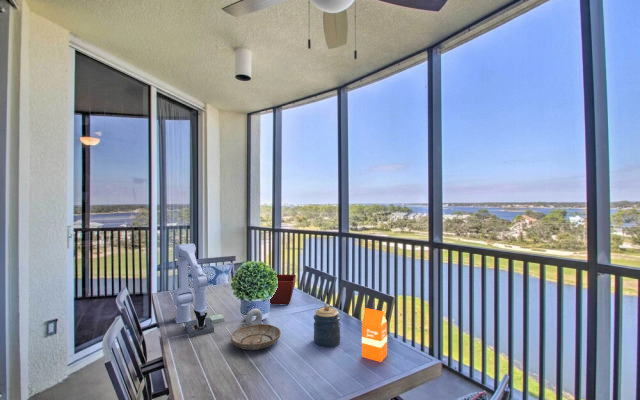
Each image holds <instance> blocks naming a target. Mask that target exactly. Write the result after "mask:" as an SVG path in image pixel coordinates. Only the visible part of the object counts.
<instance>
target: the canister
mask: <svg viewBox="0 0 640 400" xmlns="http://www.w3.org/2000/svg"><path fill="white" fill-rule="evenodd" d="M314 313H315V314H314V315H313V319H314V322H313V342H314V344H315V345H316V346H318V347H321V348H334V347H336V346H338V345H340V343H341V322H340V320H341V316H340V315H339V311H338V310H337V309H336V308H334V307H330V305H329V304H325V305H324V306H323V307H319V308H318V309H317V310H315V312H314Z"/></svg>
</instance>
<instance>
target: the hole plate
mask: <svg viewBox="0 0 640 400" xmlns="http://www.w3.org/2000/svg"><path fill="white" fill-rule="evenodd" d="M184 323H185V325H184V326H185V329H186V332H187V336H188V338H193V337H198V336H203V335H207V334H212V333H215V326H214V325H213V324H212V323H211V321H210V319H209V317H206V318H205V328H200V329H197V319H194V320H193V319H192V321H187V322H184Z"/></svg>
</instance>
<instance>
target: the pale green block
mask: <svg viewBox="0 0 640 400" xmlns="http://www.w3.org/2000/svg"><path fill="white" fill-rule="evenodd" d="M208 318H209V319H210V321H211V323H212V325H213V324H218V323H224V322H225V317H224V315H223V314H222V313H220V314H219V313H218V314H216V315H215V314H214V315H209V317H208Z"/></svg>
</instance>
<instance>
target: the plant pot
mask: <svg viewBox="0 0 640 400" xmlns="http://www.w3.org/2000/svg"><path fill="white" fill-rule="evenodd" d="M276 275H277V277H278V288H277V290H276V292H275V294H274V295H273V297H272V298H271V299H270V303H271V304H289V305H290V304H291V300H292V297H293V293H294V289H295V283H296V277H297V275H296V274H276ZM270 303H269V304H270Z"/></svg>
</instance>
